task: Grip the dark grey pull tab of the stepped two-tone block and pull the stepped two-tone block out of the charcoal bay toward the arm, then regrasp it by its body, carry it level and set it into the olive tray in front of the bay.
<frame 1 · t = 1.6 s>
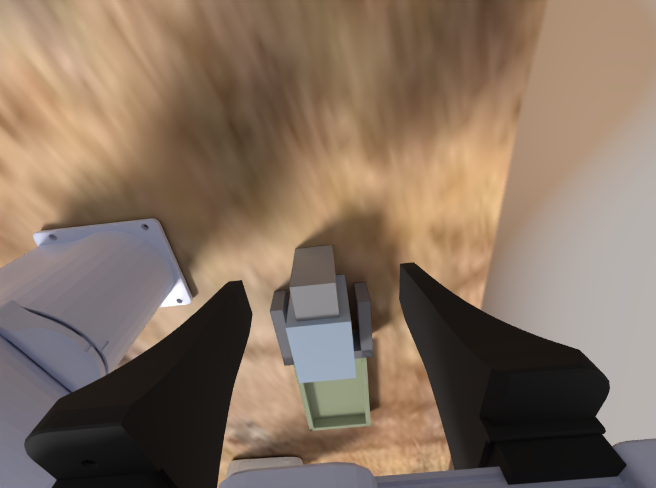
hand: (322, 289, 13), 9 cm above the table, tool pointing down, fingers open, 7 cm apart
bay: (322, 304, 26), on the table
photo printer: (266, 461, 39), on the table
tray: (334, 384, 31), on the table
stepped two-tone block: (322, 304, 26), on the table
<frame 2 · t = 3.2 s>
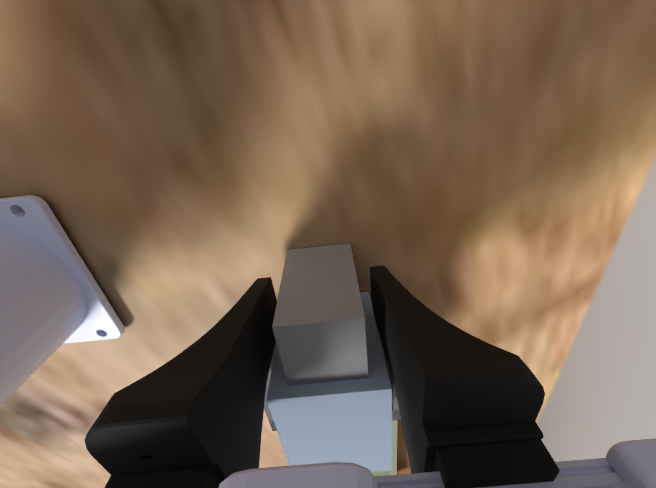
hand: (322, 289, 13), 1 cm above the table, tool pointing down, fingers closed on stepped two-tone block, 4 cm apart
bay: (331, 336, 16), on the table
tray: (346, 442, 22), on the table
stepped two-tone block: (331, 336, 16), on the table, touching gripper
when the fingers open (1 cm above the table, at t = 5.7 s): stepped two-tone block stays where it is, on the table.
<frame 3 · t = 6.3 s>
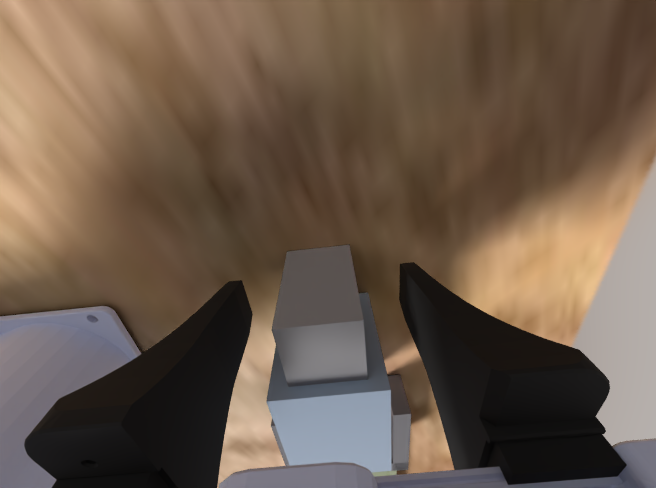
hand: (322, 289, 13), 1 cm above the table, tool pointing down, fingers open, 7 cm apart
bay: (340, 399, 19), on the table
stepped two-tone block: (331, 337, 16), on the table
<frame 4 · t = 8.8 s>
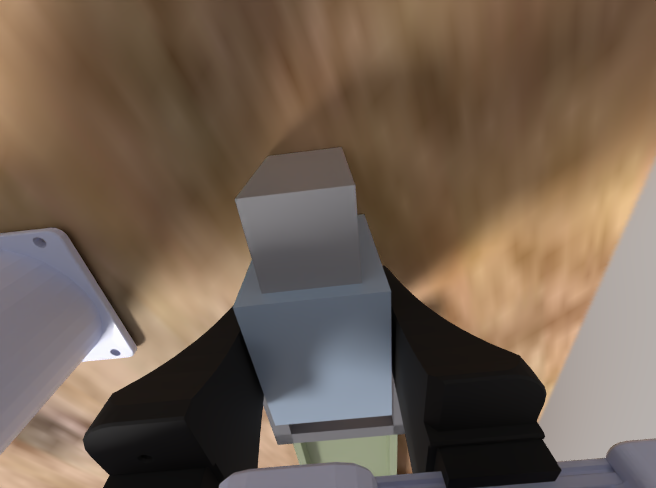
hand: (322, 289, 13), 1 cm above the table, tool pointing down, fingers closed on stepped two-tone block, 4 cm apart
bay: (334, 354, 17), on the table
tray: (348, 452, 23), on the table
stepped two-tone block: (322, 273, 14), on the table, touching gripper
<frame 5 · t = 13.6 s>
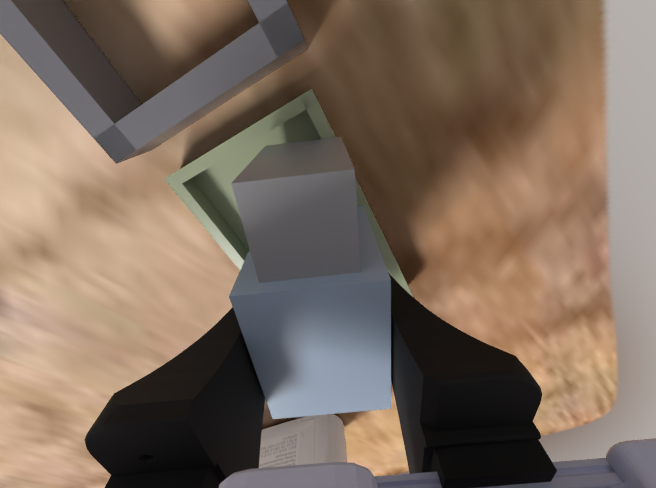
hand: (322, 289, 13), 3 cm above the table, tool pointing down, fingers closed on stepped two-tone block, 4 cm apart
photo printer: (286, 430, 24), on the table
tray: (308, 234, 15), on the table
stepped two-tone block: (321, 267, 14), point 1 cm above the table, touching gripper, tray
when the fingers open (3 cm above the table, at t = 13.9 s): stepped two-tone block stays where it is, resting on tray.
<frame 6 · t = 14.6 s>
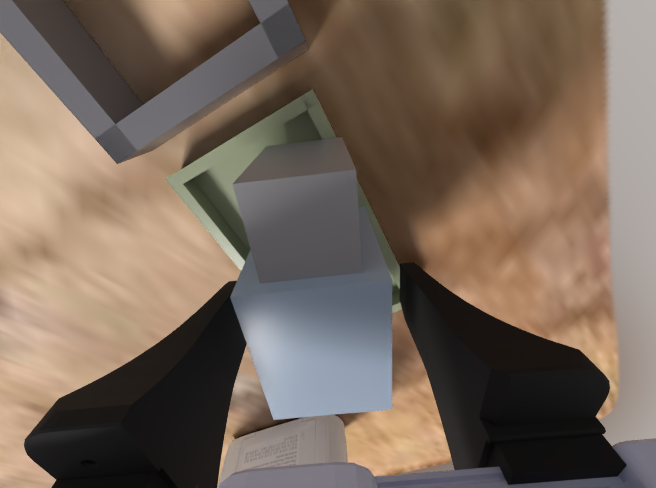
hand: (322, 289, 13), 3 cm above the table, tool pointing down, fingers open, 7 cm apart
photo printer: (287, 431, 24), on the table
tray: (308, 235, 15), on the table
stepped two-tone block: (322, 267, 14), point 1 cm above the table, touching tray
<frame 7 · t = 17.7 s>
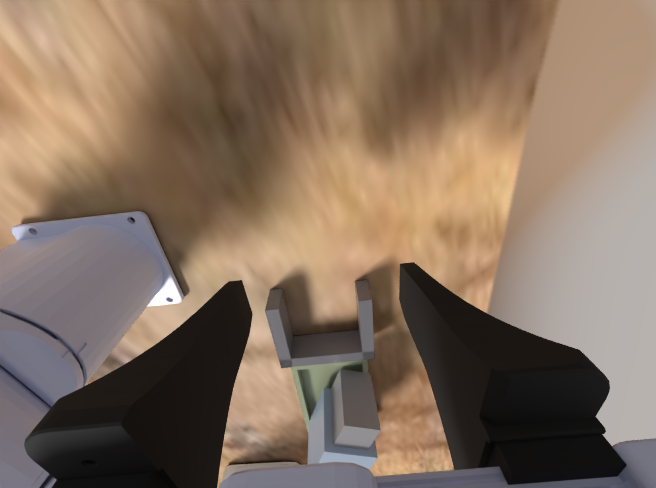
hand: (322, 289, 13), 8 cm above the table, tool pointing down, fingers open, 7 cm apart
bay: (321, 303, 24), on the table
photo printer: (263, 465, 38), on the table
tray: (334, 387, 30), on the table
stepped two-tone block: (337, 408, 29), point 1 cm above the table, touching tray
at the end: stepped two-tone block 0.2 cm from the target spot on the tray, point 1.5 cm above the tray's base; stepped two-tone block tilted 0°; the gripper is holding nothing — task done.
